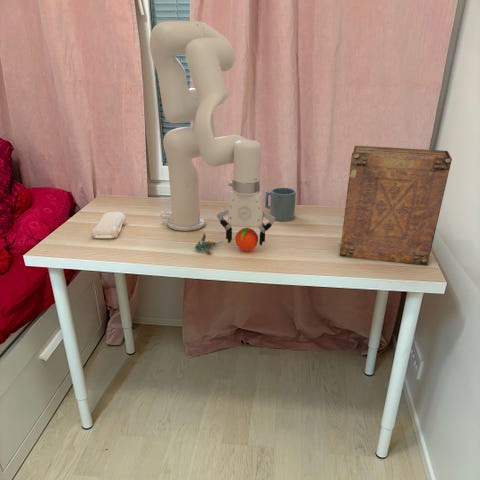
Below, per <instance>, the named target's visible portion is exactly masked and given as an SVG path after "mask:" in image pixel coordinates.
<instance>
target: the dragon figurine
mask: <svg viewBox="0 0 480 480" xmlns="http://www.w3.org/2000/svg"><path fill="white" fill-rule="evenodd" d="M206 238H207V235H206V233H203V235H202V237H201V239H200V241H198V242H197V244H196V245H195V247H194V249H195V250H197V251H200V252H202V251H204V252H206V253H208V254H210V255H211V253H212V252H211V251H210V250H209V249H210V248H212V247H213V246H216V245H219V244H222V243H223V241H219V242H217V243H216V242H215V241H208V240H207V241H206ZM201 242H202V243H201Z"/></svg>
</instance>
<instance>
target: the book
mask: <svg viewBox="0 0 480 480" xmlns="http://www.w3.org/2000/svg"><path fill="white" fill-rule="evenodd" d="M452 161H453V158H452V156H451V154H450V152H449V151H448V150H440V149H439V150H437V149H425V148H424V149H422V148H408V147H407V148H406V147H391V146H389V147H388V146H373V145H371V146H370V145H354V147H353V151H352V152H351V157H350V165H349V166H350V167H349V175H348V183H347V190H346V200H345V207H344V216H343V225H342V233H341V240H340V241H341V242H340V249H339V256H340V257H345V258H346V257H347V258H354V259H363V260H365V259H366V260H375V261H382V262H383V261H384V262H392V263H393V262H394V263H403V264H411V265H422V266H428V265H429V261H430V256H431V252H432V247H433V243H434V238H435V235H436V230H437V226H438V225H437V224H438V221H439V217H440V213H441V208H442V204H443V200H444V196H445V191H446V186H447V182H448V178H449V173H450V169H451V166H452Z"/></svg>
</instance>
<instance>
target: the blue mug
mask: <svg viewBox="0 0 480 480" xmlns="http://www.w3.org/2000/svg"><path fill="white" fill-rule="evenodd" d="M296 194H297V191H296V190H295V189H293V188H290V187H275V188H272V189H271V190H270V191H268V190H267V191H265V196H264V197H265V199H264V208H265V209H267V210H269V214H270V215H272V216H274V217H275V221H277V222H290V221H292V220H294V219H295V213H296V211H295V210H296V198H297V197H296V196H297V195H296ZM269 196H270V205H269Z"/></svg>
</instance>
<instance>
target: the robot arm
mask: <svg viewBox="0 0 480 480" xmlns="http://www.w3.org/2000/svg"><path fill="white" fill-rule="evenodd" d="M149 50H150V55H151V59H152V62H153V65H154V68H155V71H156V74H157V79H158V80H157V81H158V87H159V93H160V99H161V107H162V112H163V115H164V118H165V120H166V121H167V122H168V123H170V124H183V123H191V122H192V125H191V126H183V127H175V128H173V129H170V130H168V131H167V132H166V133H165V134H164V136H163V140H162V141H163V143H162V144H163V149H164V154H165V157H166V162H167V169H168V180H169V191H170V192H169V193H170V207H171V210H170V211H160V214H159V215H160V217H161V219H162V220H168V221H167V226H168V228H169V229H171V230H175V231H180V232H191V231H196V230H199V229H201V228H203V227H204V226H205V219H203V218H202V217H201V212H200V211H201V210H200V209H201V208H200V192H199V191H200V188H199V187H200V186H199V173H198V170H197V167H196V166H195V164H194V163H193V161H192V159H195V158H202V161H204V163H205V164H207V166H210V167H221V166H224V165H229V164H233V179H232V180H231V181H230V180H229V181H228V183H227V184H228V187H232V189H231V190H230V191H229V199H228V206H227V207H228V208H227V209H225V210H222V211H220V212H218V213H217V215H216V217H217V220H218V221H219V223H220V225H222V227H223V228H224V229H225V239H226V240H227V243H228V244H230V243H231V242H232V240H233V228H232V227H241V228H258V229H259V230H260V231H259V239H258V244H259V246H263V243H265V242H266V232H267V231H268V230H270V229H271V227H272V226H273V224H274V223H275V221H276V220H275V217H274V216H272V215H270V212H267V211H265V210H264V198H263V196H264V195H263V191H262V190H261V189H260V187H261V161H262V146H261V143H260V142H259V141H258V140H255V139H248V138H246V137H244V136H242V135H239V134H230V135H224V136H222V135H221V136H218V137H216V131H215V129H216V128H215V120H214V119H215V118H214V111H215V109H216V108H217V107H219V106H221V105H222V104H224V103H225V102H226V100H227V99H228V97H229V90H228V88H227V85H226V81H225V78H224V75H223V72H228V71H230V70H231V69H232V68H233V66H234V64H235V57H236V56H235V50H234V48H233V45H232V43H231V42H230V41H229V40H228V38H227V37H225V36H224V35H223V34H221V33H220V32H219V31H217V30H216V29H214V28H213V27H212V26H210V25H209V24H207V23H205V22H203V21H195V20H193V21H192V20H165V21H160V22H158V23H156V25H154V26H153V28H152V30H151V32H150V36H149ZM177 56H185V61H186V63H187V66H188V71H189V73H190V76H191V80H192V83H193V86H194V87H190V88H189V85H188V79H187V78H188V77H187V73H186V70H185V67H184V66H183V65H182V63H181V62H180V60H179V59H178V58H177ZM225 216H227V220H226V219H225V218H224V217H225ZM264 218H265V219H266V220H268V222H266V224H265V223H264Z"/></svg>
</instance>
